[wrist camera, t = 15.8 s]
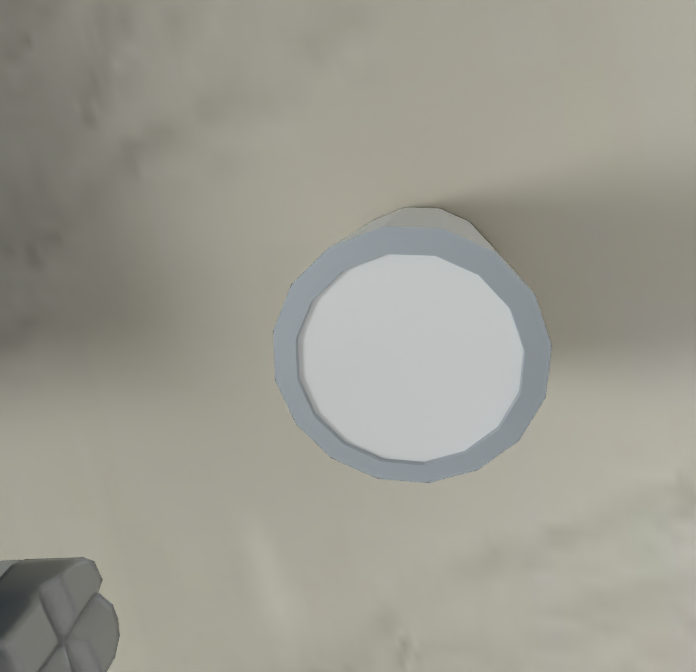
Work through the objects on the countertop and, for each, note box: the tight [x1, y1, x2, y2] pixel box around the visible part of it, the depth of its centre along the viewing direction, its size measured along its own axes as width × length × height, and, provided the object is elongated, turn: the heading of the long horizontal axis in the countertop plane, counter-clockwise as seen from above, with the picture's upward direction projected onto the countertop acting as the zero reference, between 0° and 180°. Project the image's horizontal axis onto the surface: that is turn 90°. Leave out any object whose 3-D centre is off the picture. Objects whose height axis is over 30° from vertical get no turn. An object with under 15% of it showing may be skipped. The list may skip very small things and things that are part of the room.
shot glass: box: [273, 207, 552, 483], centre depth 18 cm, size 7×7×7 cm
